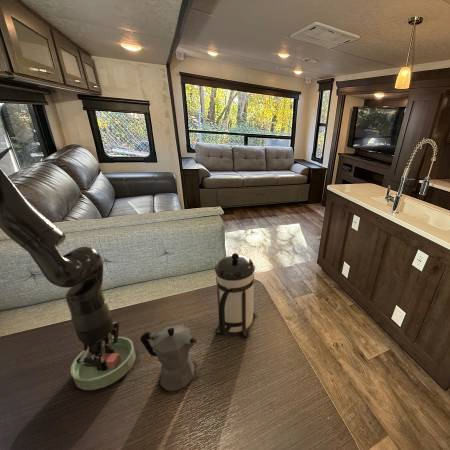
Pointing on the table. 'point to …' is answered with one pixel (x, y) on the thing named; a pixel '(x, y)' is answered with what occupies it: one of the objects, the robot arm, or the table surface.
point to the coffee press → (235, 293)
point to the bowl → (99, 379)
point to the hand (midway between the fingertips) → (107, 364)
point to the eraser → (111, 360)
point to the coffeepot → (172, 355)
